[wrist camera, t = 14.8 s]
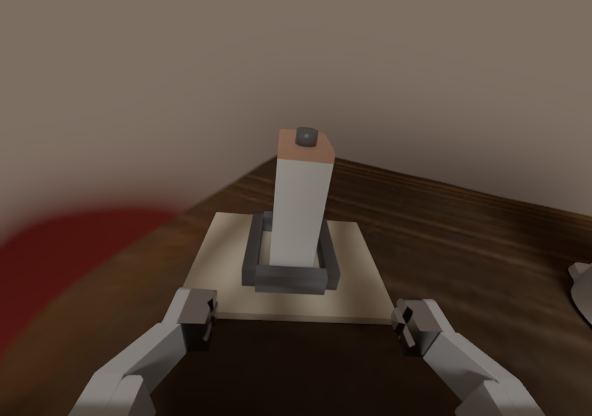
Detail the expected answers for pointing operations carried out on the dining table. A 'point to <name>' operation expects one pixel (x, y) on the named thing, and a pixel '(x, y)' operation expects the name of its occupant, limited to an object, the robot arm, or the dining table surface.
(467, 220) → the dining table surface
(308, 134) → the white and orange block
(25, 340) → the dining table surface
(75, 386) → the dining table surface
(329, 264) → the board
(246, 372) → the dining table surface
